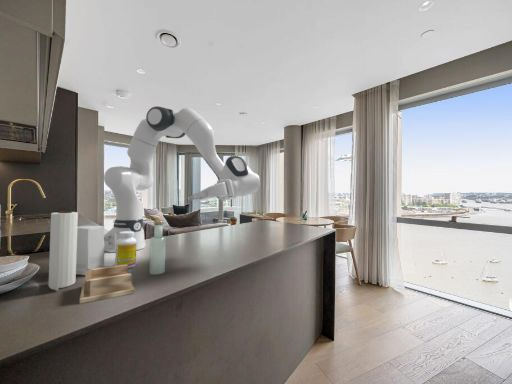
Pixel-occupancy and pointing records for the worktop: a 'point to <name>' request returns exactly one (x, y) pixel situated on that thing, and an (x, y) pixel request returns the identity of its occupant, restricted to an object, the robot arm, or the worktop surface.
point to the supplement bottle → (126, 249)
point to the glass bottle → (157, 250)
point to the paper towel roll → (63, 249)
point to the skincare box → (89, 248)
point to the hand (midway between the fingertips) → (190, 197)
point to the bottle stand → (106, 283)
